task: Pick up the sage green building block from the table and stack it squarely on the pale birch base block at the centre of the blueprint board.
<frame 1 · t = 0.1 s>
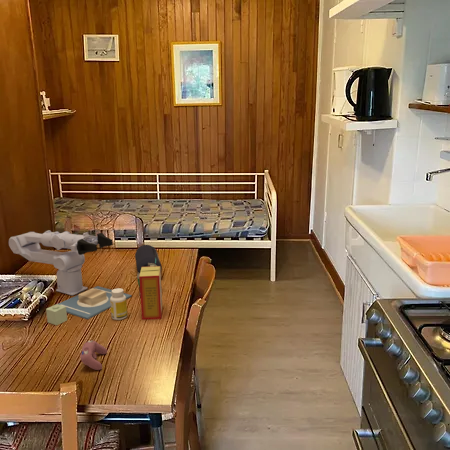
hand: (104, 245, 169), 22 cm above the table, tool horizontal, fingers open, 7 cm apart
baking soda box: (152, 313, 165), on the table
food container: (151, 292, 182), on the table
supplement bottle: (119, 317, 162), on the table
portable speaker: (148, 273, 203), on the table
blueprint board: (93, 302, 174), on the table
video game controller: (94, 362, 134), on the table
sage block: (57, 321, 159), on the table
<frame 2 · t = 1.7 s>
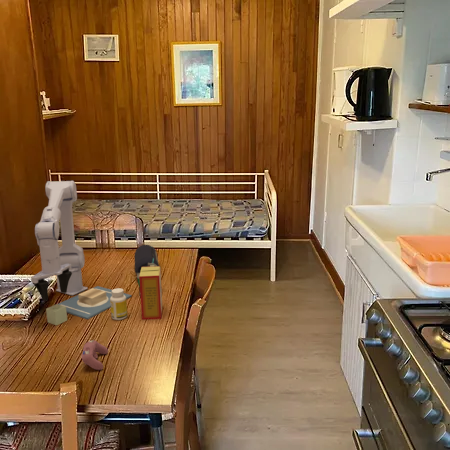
hand: (54, 296, 157), 9 cm above the table, tool pointing down, fingers open, 7 cm apart
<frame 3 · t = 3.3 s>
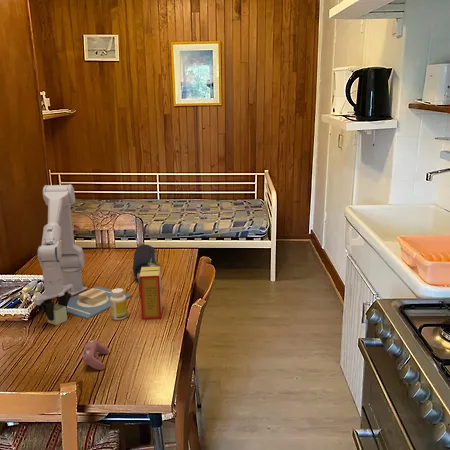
hand: (57, 316, 159), 2 cm above the table, tool pointing down, fingers closed on sage block, 4 cm apart
sage block: (57, 321, 159), on the table, touching gripper
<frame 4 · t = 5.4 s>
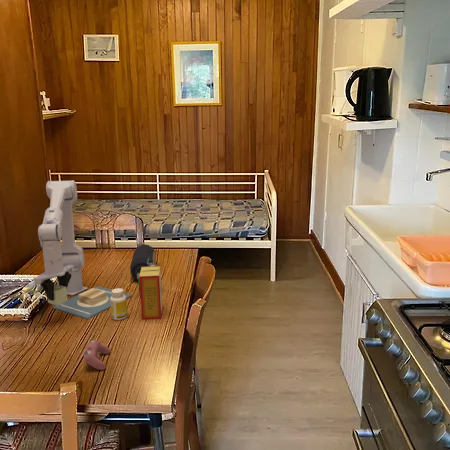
hand: (57, 297, 158), 8 cm above the table, tool pointing down, fingers closed on sage block, 4 cm apart
sage block: (57, 301, 159), point 7 cm above the table, touching gripper
when the fingers open (6 cm above the table, at t = 7.8 s): sage block stays where it is, resting on blueprint board.
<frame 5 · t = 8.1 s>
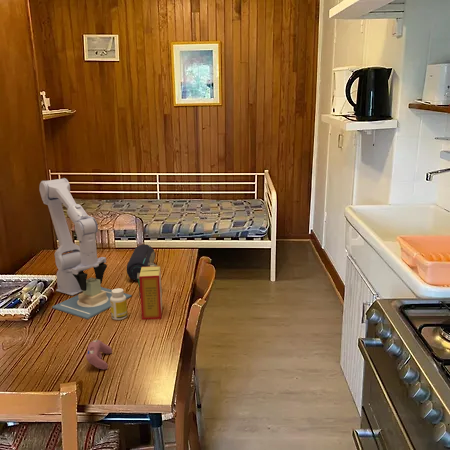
hand: (91, 286, 172), 6 cm above the table, tool pointing down, fingers open, 7 cm apart
sage block: (92, 293, 173), point 4 cm above the table, touching blueprint board
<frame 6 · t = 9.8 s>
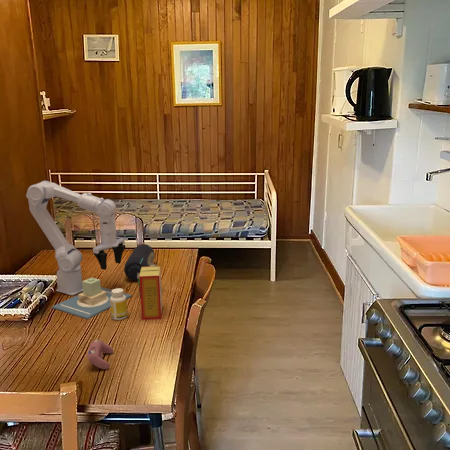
hand: (111, 266, 181), 10 cm above the table, tool pointing down, fingers open, 7 cm apart
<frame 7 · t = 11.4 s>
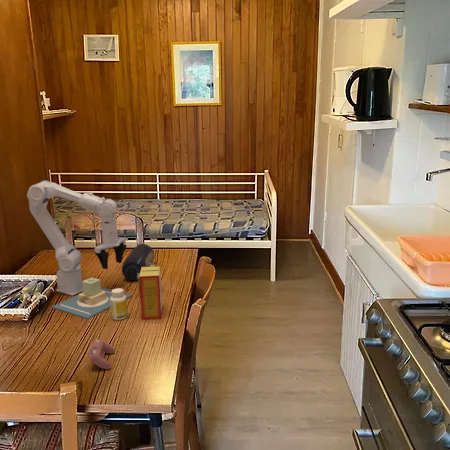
hand: (112, 265, 182), 10 cm above the table, tool pointing down, fingers open, 7 cm apart
at the end: sage block 0.0 cm off-centre on the blueprint board, point 3.6 cm above the blueprint board's base; sage block tilted 0°; the gripper is holding nothing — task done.
